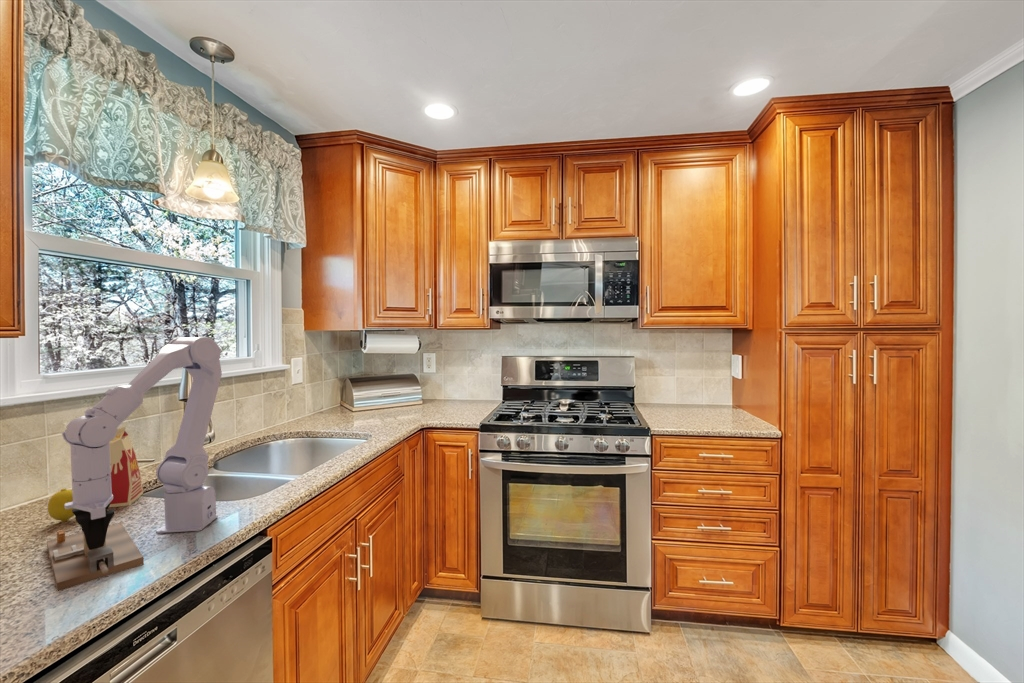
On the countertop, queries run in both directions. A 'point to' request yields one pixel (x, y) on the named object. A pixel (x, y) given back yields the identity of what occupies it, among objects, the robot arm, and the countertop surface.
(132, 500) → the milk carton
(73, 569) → the keeper board
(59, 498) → the lemon
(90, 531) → the robot arm
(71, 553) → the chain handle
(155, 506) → the countertop surface
